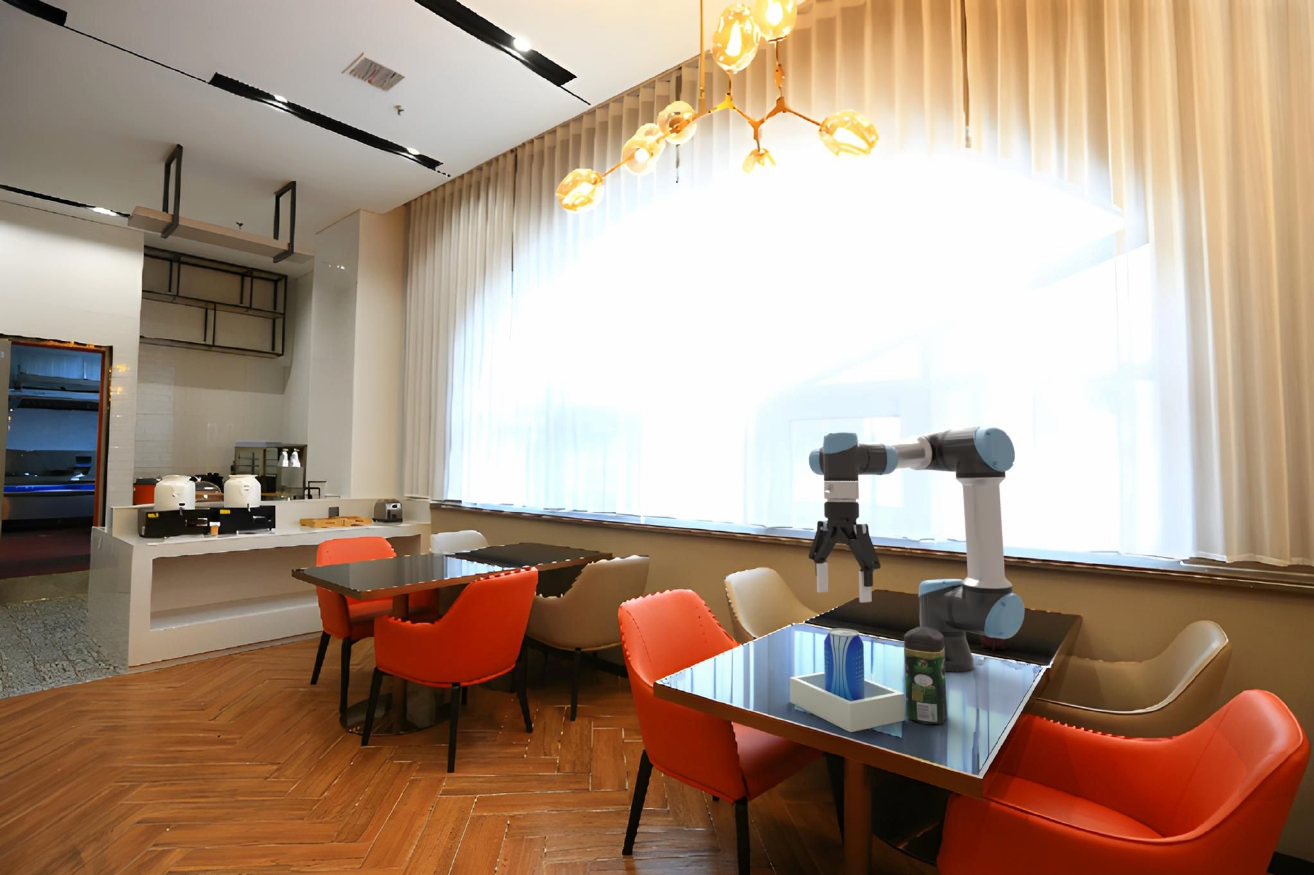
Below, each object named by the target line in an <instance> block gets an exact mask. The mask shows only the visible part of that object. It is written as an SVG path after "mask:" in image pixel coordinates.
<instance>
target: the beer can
mask: <svg viewBox="0 0 1314 875" xmlns="http://www.w3.org/2000/svg"><path fill="white" fill-rule="evenodd" d="M827 632H828V634H827V635H826V637H825V638H824V640H823V658H824V659H823V660H824V664H823V665H824V671H823V672H825V691H828V692H830V693H832V694H834V695H837V696H839V697H841V698H844V699H846V700H848V701H855V700H860V699H865V689H864V678H865V656H864V655H865V651H864V650H865V648H864V641H863V640H862V638H861V636H860V632H859V631H857V630H854V629H850V628H840V627H839V628H831V629H828V630H827Z"/></svg>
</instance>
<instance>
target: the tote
mask: <svg viewBox="0 0 1314 875" xmlns="http://www.w3.org/2000/svg"><path fill="white" fill-rule="evenodd" d="M864 689H865V699H860V700H855V701H848V700H846V699H844V698H841V697H839V696H837V695H834V694H832V693H830V692H828V691H825V671H820V672H815V673H807V674H803V675H796V676H790V677H789V703H791V704H793V705H795V706H797V707H799V708H801V709H803V710H806V712H809V713H811V714H813V715H815V716H817V717H819V718H821V719H823V720H825V721H827V722H829V723H831V724H832V725H835V726H837V727H839V728H841V729H843V730H845V731H847V732H849V733H853V732H854V733H855V732H857V731H862V730H867V729H871V728H876V727H877V728H878V727H881V726H885V725H891V724H894V723H899V722H903V721H904V722H905V721H906V703H905V693H904V692H901V691H899V690H896V689H894V688H891V687H888V686H887V685H884V684H880V683H877V682H875V681H873V680H870V679H868V678H865V677H864Z"/></svg>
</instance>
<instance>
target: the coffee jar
mask: <svg viewBox="0 0 1314 875" xmlns="http://www.w3.org/2000/svg"><path fill="white" fill-rule="evenodd" d="M903 649H904V652H903V653H904V677H905V678H904V680H905V716H906V717H907V718H908V719H910V720H912V721H915V722H917V723H919V724H924V725H931V724H933V725H940V724H943V723H944V722H945V721H946V718H947V716H948V707H947V706H948V705H947V704H948V703H947V687H946V686H947V685H946V684H947V682H946V671H945V650H944V636H943V634H942V633H940V632H939V631H938V630H937V629H935V628H927V627H920V626H916V627H915V628H912V629H910V630H908V631H906V633H905V634H903Z"/></svg>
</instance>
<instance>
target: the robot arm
mask: <svg viewBox="0 0 1314 875" xmlns="http://www.w3.org/2000/svg"><path fill="white" fill-rule="evenodd" d="M1015 452H1016V451H1015V447H1014V443H1013V442H1012V439H1011V438H1010V436H1009V435H1008V434H1007V433H1006V431H1005V430H1004V429H1001V428H1000V427H997V426H982V425H981V426H975V427H964V428H963V427H962V428H954V429H953V428H952V429H950V428H949V429H943V430H938V431H933V432H930V433H929V432H928V433H925V434H920V435H918V434H917V435H911V436H909V437H908V438H906V439H900V440H889V441H888V440H886V441H875V442H872V441H871V442H865V441H864V442H859V440H858V434H857V433H856V432H852V431H835V432H834V431H833V432H827V433H825V434H824V436H823V443H822V445H821V446H816V447H814V448H813V449H812V450H811V451H810V453H809V457H808V464H809V469H810V470H811V471H812V473H814V474H815V475H819V476H823V493H824V494H823V496H824V497H823V498H824V499H825V500H826V501H825V502H824V503H823V505H824V506H823V507H824V508H823V510H824V511H823V512H824V515H823V516H824V518H826V519H827V520H817V523H816V525H817V526H816V531H815V535H814V539H813V542H812V544H811V548H810V549H809V554H808V559H810V560H812V561H813V563H814V564H815V568H814V569H815V571H814V572H815V577H816V593H828V592H829V564H828V561H827V559H828V557H829V555H830V554H831V552H832V551H833V549H834V548H835V545H836V544H837V543H841V544H845V545H846V546H847V547H848V548H849V550H850V552H851V553H852V555H853V556H854V559H855V560H856V561H857V563H858V565H859V567H860V570H859V571H858V588H859V589H858V590H859V592H858V594H859V596H858V597H859V598H858V599H859V601H858V602H859V603H871V602H873V601H872V587H873V586H874V571H875V570H879V569H881V567H882V564H881V563H880V559H879V557H878V554H877V551H876V549H875V547H874V544H873V541H872V538H871V535H870V531H869V525H868V524H867V523H857V519H859V518H860V503H859V502H857V500H859V499H860V495H859V494H860V492H859V491H860V490H859V476H869V475H871V476H875V475H876V476H883V475H884V476H886V475H890V474H892V473H893V472H894V471H896V469H906V468H908V469H911V470H915V471H937V472H939V471H940V472H949V473H952V472H953V473H955V479H956V480H957V481H958V482H959V483H960V484H961V485H962V494H963V495H962V496H963V512H964V528H965V530H964V531H965V547H966V548H965V550H966V565H967V576H966V577H965V578H964V579H961V578H942V579H941V578H940V579H928V580H923V581H921V582H920V583H919V585H918V586H919V587H918V595H917V597H918V607H919V608H918V610H919V611H918V612H919V627H927V628H935V629H937V630H938V631H939V632H940V633H942V634H943V636H944V650H945V672H968V671H971V670H973V669H974V668H975V660H974V656H973V655H972V651H971V649H970V646H969V643H968V639H967V632H968V633H969V632H970V633H973V634H977V635H980V634H981V635H986V636H988V637H991V638H993V637H995V638H1001V639H1005V640H1006V639H1010V638H1013V637H1014V636H1015V635H1016V634H1017V633H1018V631H1019V630H1020V628H1021V627H1022V625H1023V622H1024V619H1025V604H1024V601H1023V600H1022V598H1021V596H1020V595H1018V594H1016V593H1014V592H1013V583H1011V581H1009V580H1008V579H1007V578H1006V576H1005V575H1006V574H1005V572H1006V571H1005V558H1004V557H1005V556H1004V554H1005V553H1004V542H1003V541H1004V539H1003V524H1002V507H1001V506H1002V504H1001V489H1000V487H1001V486H1000V484H1001V483H1002V482H1003V481H1004V480H1005V479H1006V472H1007V471H1009V470H1010V469H1012V467H1013V466H1014V462H1015V459H1016V453H1015Z"/></svg>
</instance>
